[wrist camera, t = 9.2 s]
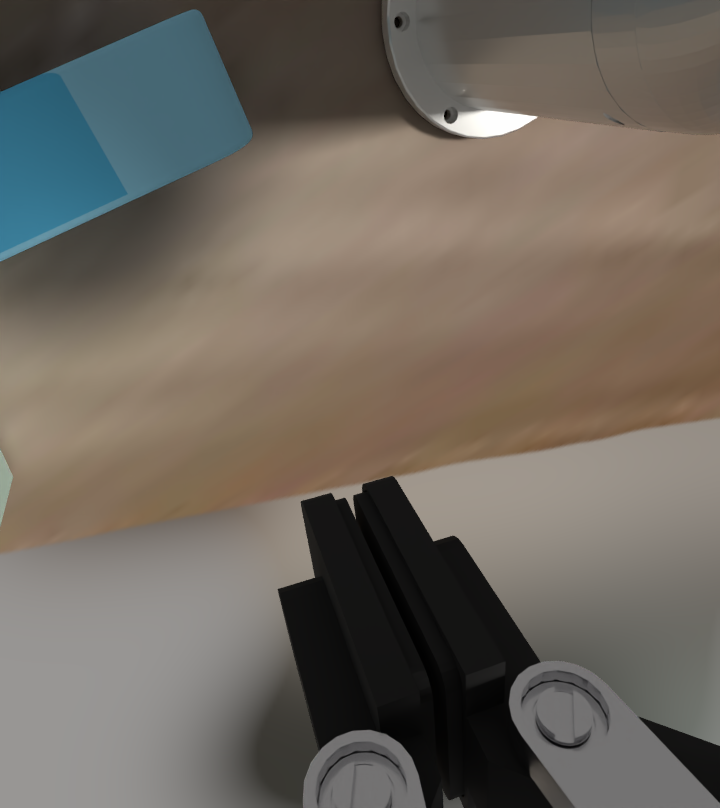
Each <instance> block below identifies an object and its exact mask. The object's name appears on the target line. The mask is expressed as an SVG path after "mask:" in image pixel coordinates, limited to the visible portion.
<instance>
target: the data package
mask: <svg viewBox="0 0 720 808" xmlns="http://www.w3.org/2000/svg"><path fill="white" fill-rule="evenodd" d="M252 136H253V133H252V129H251V127H250V125H249V122H248V120H247V118H246V115H245V113H244V111H243V108H242V106H241V104H240V101H239V99H238V97H237V94H236V92H235V90H234V87H233V85H232V83H231V80H230V78H229V76H228V73H227V71H226V69H225V66H224V64H223V62H222V59H221V57H220V55H219V52H218V50H217V48H216V45H215V43H214V41H213V38H212V36H211V34H210V31H209V29H208V27H207V24H206V22H205V20H204V17H203V15H202V14H201V12H200V11H198V10H195V9H193V10H189V11H186V12H184V13H181V14H179V15H176V16H174V17H172V18H169V19H167V20H164V21H162V22H160V23H157V24H155V25H153V26H151V27H148V28H146V29H144V30H141V31H139V32H137V33H134V34H132V35H130V36H128V37H125V38H123V39H121V40H118V41H116V42H114V43H112V44H109V45H107V46H105V47H102V48H100V49H98V50H95V51H93V52H91V53H89V54H86V55H84V56H82V57H79V58H77V59H75V60H73V61H70V62H68V63H66V64H63V65H61V66H59V67H56V68H54V69H52V70H50V71H47V72H45V73H43V74H40V75H38V76H36V77H34V78H31V79H29V80H27V81H24V82H22V83H20V84H17V85H15V86H13V87H11V88H8V89H6V90H4V91H1V92H0V262H1V261H3V260H5V259H7V258H9V257H12V256H14V255H16V254H18V253H20V252H22V251H25V250H27V249H29V248H31V247H33V246H35V245H37V244H40V243H42V242H44V241H46V240H48V239H50V238H53V237H55V236H57V235H59V234H61V233H63V232H66V231H68V230H70V229H72V228H74V227H76V226H78V225H81V224H83V223H85V222H87V221H89V220H91V219H94V218H96V217H98V216H100V215H102V214H104V213H106V212H109V211H111V210H113V209H115V208H117V207H119V206H122V205H124V204H126V203H128V202H130V201H132V200H135V199H137V198H139V197H141V196H143V195H145V194H147V193H150V192H152V191H154V190H156V189H158V188H160V187H163V186H165V185H167V184H169V183H171V182H173V181H176V180H178V179H180V178H182V177H184V176H186V175H188V174H191V173H193V172H195V171H197V170H199V169H201V168H204V167H206V166H208V165H210V164H212V163H214V162H217V161H219V160H221V159H223V158H225V157H227V156H229V155H231V154H233V153H234V152H236V151H238V150H239V149H241V148H242V147H244V146H245V145H246V144H248V143H249V142H250V140H251V139H252Z"/></svg>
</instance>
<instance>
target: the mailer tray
mask: <svg viewBox="0 0 720 808" xmlns="http://www.w3.org/2000/svg"><path fill="white" fill-rule="evenodd" d="M12 479H13V476H12V473H11V471H10V469H9V467H8V465H7V463H6V460H5V458H4V456H3V454H2V452H1V449H0V525H1V522H2V518H3V514H4V510H5V506H6V502H7V498H8V494H9V490H10V487H11V483H12Z"/></svg>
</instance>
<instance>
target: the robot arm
mask: <svg viewBox="0 0 720 808" xmlns="http://www.w3.org/2000/svg"><path fill="white" fill-rule="evenodd" d="M395 17H397V18H398V19H399V21H400V24H399V26H398V28H396V27H395V24H394V20H395ZM382 33H383V38H384V44H385V50H386V56H387V58H388V61H389V64H390V67H391V70H392V73H393V76H394V79H395V80H396V82H397V84H398V86H399V88H400V89H401V91H402V93H403V95H404V97H405V98H406V99H407V101H408V102H409V103H410V104H411V105H412V107H413V108H414V109H415V110H416V111H417V113H418V114H419V115H421V116H422V117H423V118H425V119H426V120H427V121H428V122H430V123H431V124H432V125H433V126H435V127H437V128H440V129H442V130H444V131H446V132H448V133H450V134H455V135H459V136H462V137H468V138H479V139H486V138H493V137H499V136H503V135H506V134H509V133H511V132H514V131H516V130H519V129H521V128H522V127H524V126H525V125H527V124H529V123H530V122H532V121H533V120H535V119H536V118H537V117H544V118H552V119H560V120H568V121H577V122H585V123H593V124H601V125H609V126H617V127H626V128H634V129H642V130H650V131H658V132H672V133H682V134H691V135H714V134H720V0H382ZM445 111H447V117H446V118H445V119H444V113H445ZM353 500H354V508H355V516H356V519H355V517H354V515H353V513H352V511H351V508H350V506H349V504H348V502H347V500H346V498H342V499H339V500H335V499H334V497H333V495H332V494H331V493H329V494H325V495H322V496H318V497H315V498H311V499H307V500H304V501H301V507H302V513H303V518H304V523H305V528H306V533H307V538H308V543H309V549H310V554H311V559H312V564H313V569H314V575H315V578H313V579H310V580H306V581H303V582H300V583H296V584H293V585H290V586H287V587H284V588H280V589H278V593H279V597H280V601H281V605H282V609H283V613H284V617H285V621H286V625H287V630H288V633H289V637H290V642H291V646H292V650H293V653H294V657H295V661H296V665H297V669H298V673H299V677H300V681H301V685H302V688H303V692H304V696H305V700H306V704H307V708H308V712H309V716H310V719H311V723H312V727H313V731H314V735H315V739H316V743H317V747H318V750H319V753H318V754H317V755H316V757H315V758H314V759H313V761H312V762H311V764H310V767H309V769H308V772H307V775H306V777H305V780H304V792H303V807H304V808H443V792H442V789H443V791H444V793H445V795H446V797H447V798H448V800H451V799H454V798H457V797H460V800H461V802H462V805H463V807H464V808H720V746H718V745H715V744H712V743H710V742H707V741H704V740H702V739H699V738H696V737H693V736H690V735H688V734H685V733H682V732H679V731H677V730H674V729H671V728H668V727H666V726H663V725H660V724H657V723H654V722H652V721H649V720H646V719H644V718H641V717H638V716H636V714H634V713H633V712H632V710H631V709H630V708H629V707H628V706H627V705H626V704H625V703H624V702H623V701H622V700H621V699H620V698H619V697H618V696H617V694H615V693H614V691H613V690H612V689H611V688H610V687H609V686H608V685H607V684H606V683H605V682H604V681H602V680H601V679H600V678H599V677H597V676H596V675H595V674H594V673H592V672H591V671H589V670H587V669H585V668H583V667H580V666H578V665H576V664H572V663H567V662H563V661H545V662H540V661H539V659H538V657H537V656H536V654H535V653H534V651H533V650H532V648H531V647H530V645H529V644H528V642H527V641H526V639H525V638H524V636H523V635H522V633H521V632H520V630H519V629H518V627H517V625H516V624H515V622H514V621H513V620H512V618H511V617H510V615H509V613H508V612H507V610H506V609H505V607H504V606H503V604H502V603H501V601H500V600H499V598H498V597H497V595H496V594H495V592H494V591H493V589H492V588H491V586H490V585H489V583H488V582H487V580H486V579H485V577H484V576H483V574H482V572H481V571H480V569H479V568H478V566H477V565H476V563H475V562H474V560H473V559H472V557H471V556H470V554H469V553H468V551H467V550H466V548H465V547H464V545H463V544H462V543H461V541H460V540H459V539H458V538H457V537H455V536H450V537H447V538H444V539H440V540H437V541H434V542H433V540H432V538H431V537H430V535H429V533H428V532H427V530H426V529H425V527H424V525H423V523H422V522H421V520H420V518H419V517H418V515H417V513H416V512H415V510H414V509H413V507H412V505H411V504H410V502H409V500H408V499H407V497H406V495H405V494H404V492H403V490H402V489H401V487H400V485H399V484H398V482H397V480H396V479H395V478H394V477H393V476H390V477H387V478H383V479H379V480H376V481H372V482H369V483H365V484H363V485H362V493H360V494H357V495H354V497H353Z"/></svg>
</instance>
